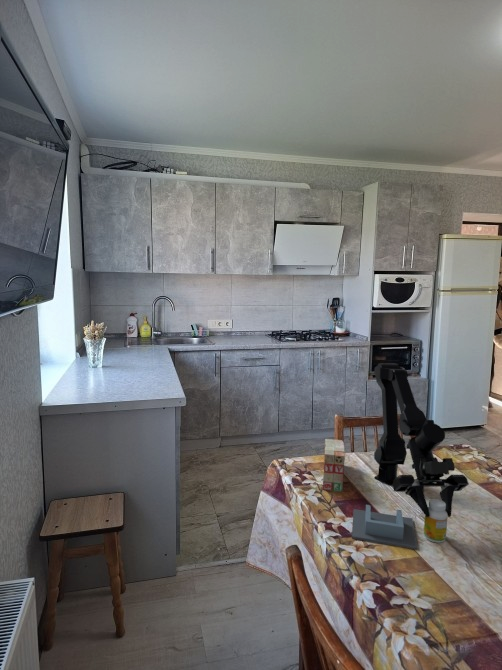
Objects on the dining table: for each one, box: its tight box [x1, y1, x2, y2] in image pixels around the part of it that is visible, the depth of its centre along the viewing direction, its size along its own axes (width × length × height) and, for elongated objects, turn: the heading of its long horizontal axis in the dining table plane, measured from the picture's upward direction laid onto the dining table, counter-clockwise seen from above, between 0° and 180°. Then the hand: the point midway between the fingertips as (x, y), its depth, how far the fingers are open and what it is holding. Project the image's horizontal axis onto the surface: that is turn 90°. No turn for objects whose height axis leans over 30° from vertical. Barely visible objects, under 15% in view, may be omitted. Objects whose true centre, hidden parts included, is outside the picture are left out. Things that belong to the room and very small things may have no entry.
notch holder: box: [351, 504, 418, 551], centre depth 117 cm, size 14×16×4 cm
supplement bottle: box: [423, 498, 449, 544], centre depth 114 cm, size 5×5×10 cm
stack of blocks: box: [322, 438, 346, 493], centre depth 148 cm, size 21×6×12 cm, turn 170°
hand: (439, 516), depth 112 cm, fingers closed on supplement bottle, 5 cm apart
